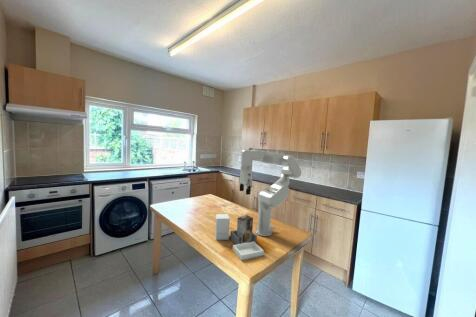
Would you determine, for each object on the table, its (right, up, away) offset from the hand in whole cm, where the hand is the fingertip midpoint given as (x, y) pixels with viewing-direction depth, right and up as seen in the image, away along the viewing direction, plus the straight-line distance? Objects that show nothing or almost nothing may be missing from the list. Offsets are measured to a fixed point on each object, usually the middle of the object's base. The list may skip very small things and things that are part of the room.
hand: (244, 192), depth 135 cm
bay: (-1, -33, -2) cm, 33 cm away
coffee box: (-1, -33, -1) cm, 33 cm away
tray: (+1, -34, -16) cm, 37 cm away
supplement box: (-16, -32, +2) cm, 36 cm away
